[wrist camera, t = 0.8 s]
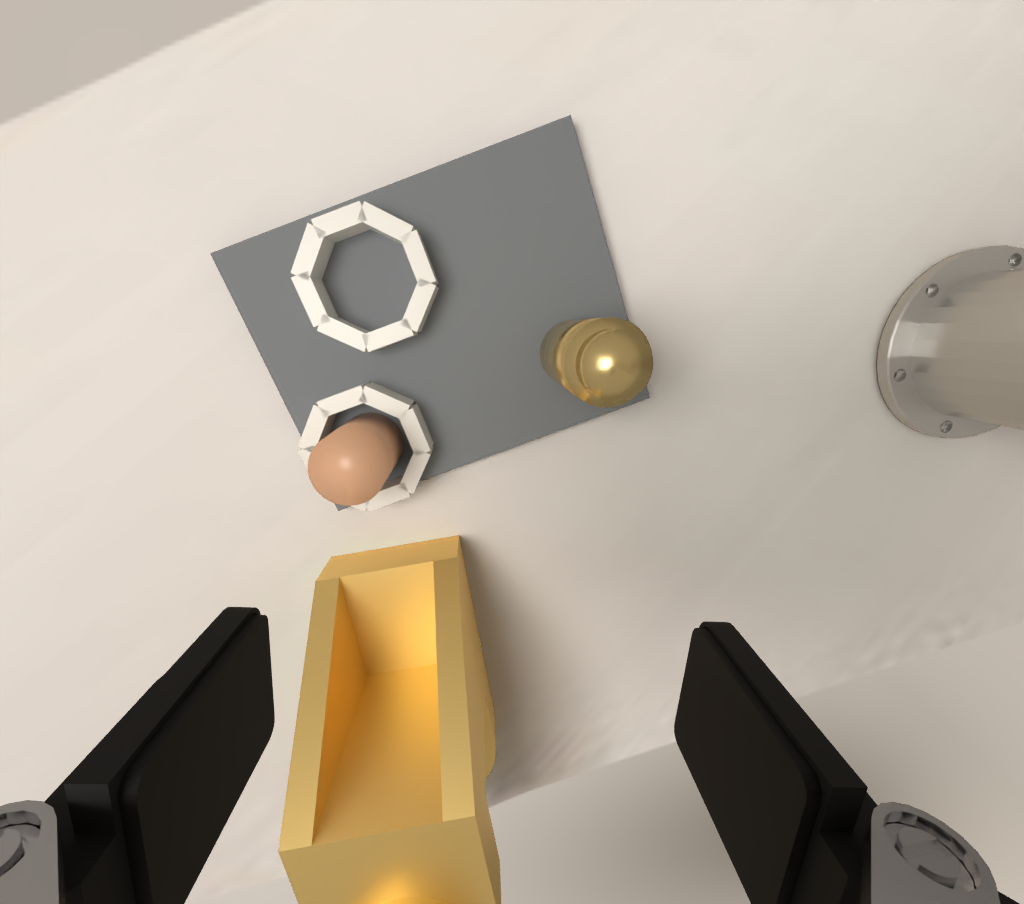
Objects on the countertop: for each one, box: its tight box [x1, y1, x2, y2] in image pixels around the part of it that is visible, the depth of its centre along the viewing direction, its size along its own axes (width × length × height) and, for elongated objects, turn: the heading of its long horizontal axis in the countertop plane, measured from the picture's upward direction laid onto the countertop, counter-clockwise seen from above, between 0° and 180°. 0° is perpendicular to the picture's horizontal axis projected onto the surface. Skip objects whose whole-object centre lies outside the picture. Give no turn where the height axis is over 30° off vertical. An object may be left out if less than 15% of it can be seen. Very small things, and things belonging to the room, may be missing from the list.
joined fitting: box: [298, 382, 434, 512], centre depth 28 cm, size 7×7×6 cm
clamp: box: [278, 535, 501, 904], centre depth 29 cm, size 20×9×16 cm, turn 9°
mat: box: [210, 115, 650, 511], centre depth 30 cm, size 22×17×1 cm
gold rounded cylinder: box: [540, 317, 653, 408], centre depth 25 cm, size 4×4×10 cm
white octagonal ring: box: [291, 201, 439, 352], centre depth 27 cm, size 7×7×2 cm
